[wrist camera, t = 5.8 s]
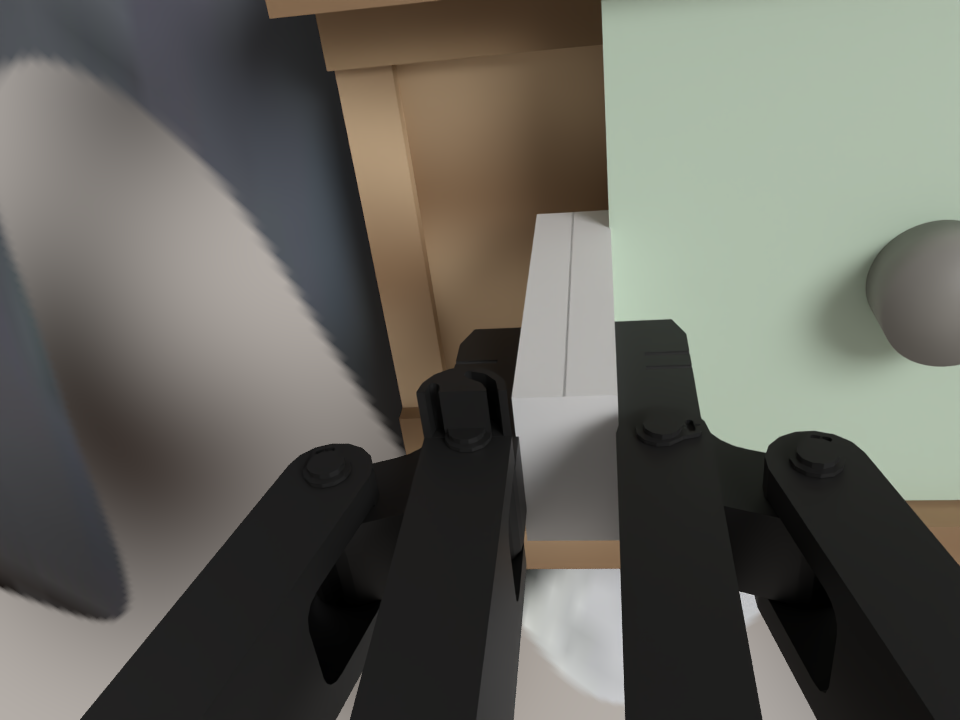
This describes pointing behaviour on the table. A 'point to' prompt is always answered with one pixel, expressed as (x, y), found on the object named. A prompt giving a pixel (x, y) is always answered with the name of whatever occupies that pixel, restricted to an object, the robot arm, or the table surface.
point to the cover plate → (797, 215)
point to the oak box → (476, 175)
